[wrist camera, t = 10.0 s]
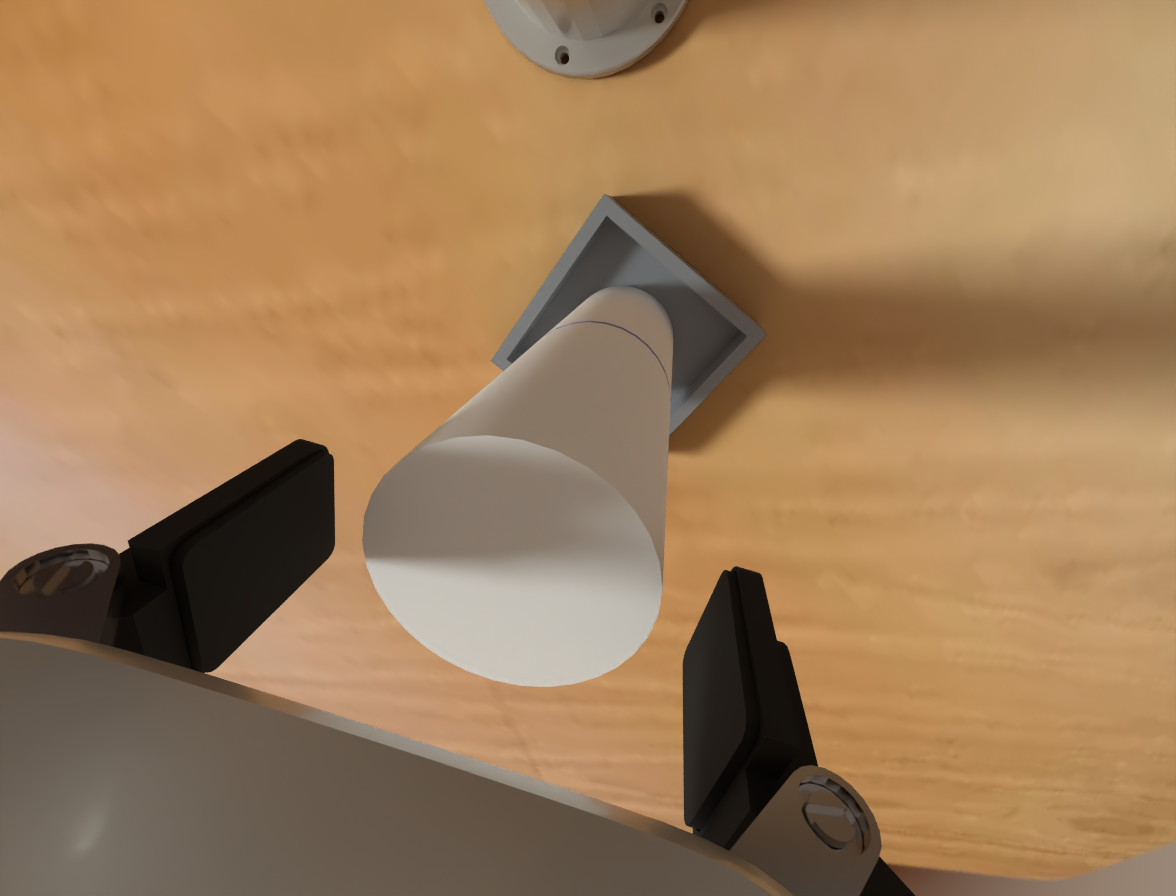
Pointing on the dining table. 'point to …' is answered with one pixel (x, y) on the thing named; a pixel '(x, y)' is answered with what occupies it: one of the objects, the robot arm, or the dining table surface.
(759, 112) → the dining table surface
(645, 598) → the cylindrical container
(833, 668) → the dining table surface
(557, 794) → the robot arm
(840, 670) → the dining table surface
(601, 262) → the tray
